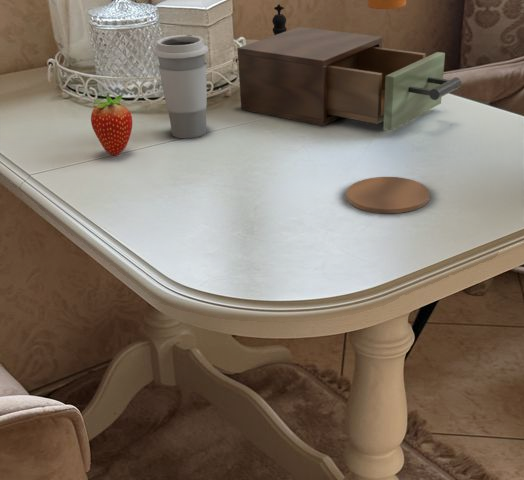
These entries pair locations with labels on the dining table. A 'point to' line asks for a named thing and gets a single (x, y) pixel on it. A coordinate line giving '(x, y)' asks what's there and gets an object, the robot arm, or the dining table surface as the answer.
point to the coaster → (388, 195)
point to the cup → (184, 83)
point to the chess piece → (279, 21)
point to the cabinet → (295, 71)
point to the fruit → (112, 124)
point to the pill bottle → (386, 4)
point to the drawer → (386, 85)
